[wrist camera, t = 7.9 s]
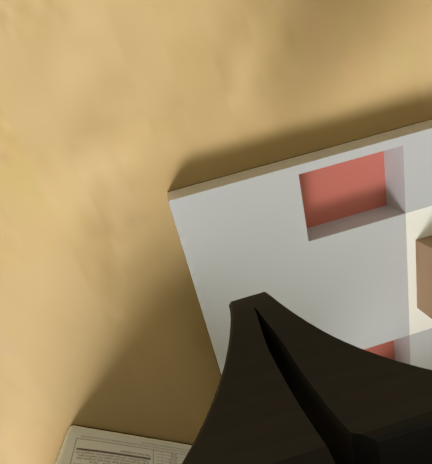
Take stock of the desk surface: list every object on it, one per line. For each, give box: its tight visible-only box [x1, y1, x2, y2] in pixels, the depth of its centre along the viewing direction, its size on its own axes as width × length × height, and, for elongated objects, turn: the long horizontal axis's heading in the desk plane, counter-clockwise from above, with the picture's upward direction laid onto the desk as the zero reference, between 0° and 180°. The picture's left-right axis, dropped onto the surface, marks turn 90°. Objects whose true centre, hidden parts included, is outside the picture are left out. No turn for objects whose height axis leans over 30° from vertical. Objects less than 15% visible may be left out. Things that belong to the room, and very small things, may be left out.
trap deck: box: [167, 119, 432, 375], centre depth 21 cm, size 20×18×5 cm
